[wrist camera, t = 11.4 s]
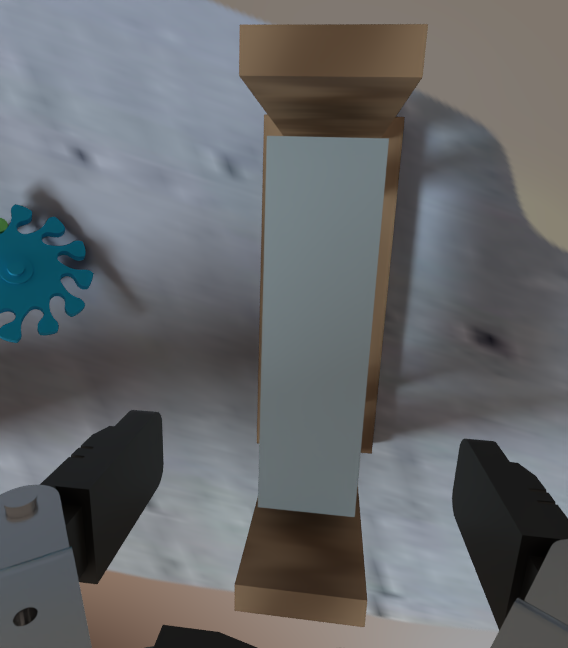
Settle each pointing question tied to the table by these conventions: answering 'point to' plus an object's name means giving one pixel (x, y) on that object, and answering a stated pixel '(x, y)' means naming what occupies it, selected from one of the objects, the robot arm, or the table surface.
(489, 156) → the table surface
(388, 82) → the stand
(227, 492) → the table surface
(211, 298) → the table surface
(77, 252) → the gear
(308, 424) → the grey rectangular block
